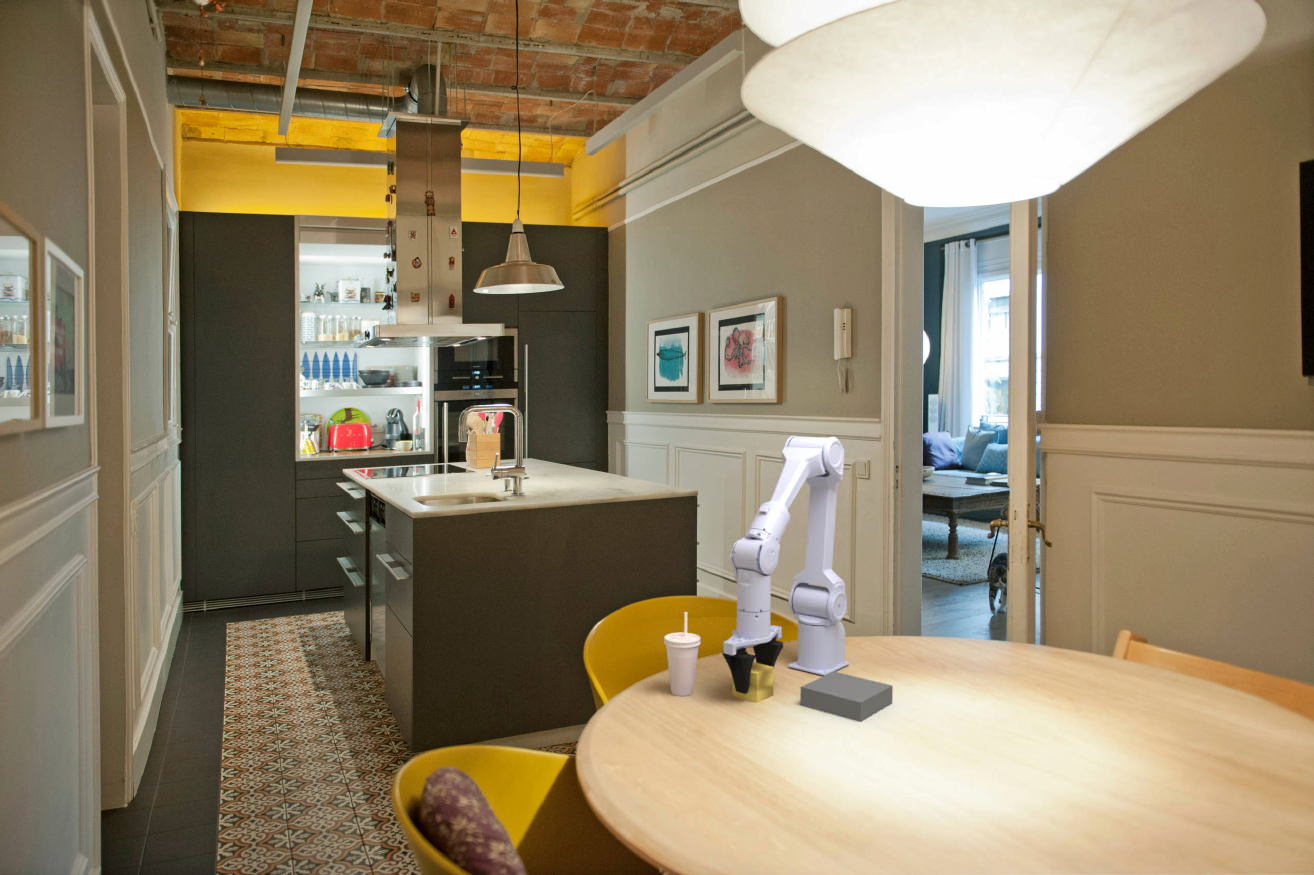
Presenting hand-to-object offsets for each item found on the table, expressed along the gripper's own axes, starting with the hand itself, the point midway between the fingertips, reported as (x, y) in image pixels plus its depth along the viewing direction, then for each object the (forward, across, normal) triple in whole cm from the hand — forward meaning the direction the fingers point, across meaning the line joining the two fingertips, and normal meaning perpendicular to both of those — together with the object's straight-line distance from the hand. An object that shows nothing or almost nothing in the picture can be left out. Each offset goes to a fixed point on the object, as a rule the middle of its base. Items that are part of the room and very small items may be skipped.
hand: (753, 687), depth 143 cm
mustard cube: (+2, 0, 0) cm, 2 cm away
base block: (+2, -7, +14) cm, 16 cm away
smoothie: (+2, +7, -10) cm, 12 cm away
